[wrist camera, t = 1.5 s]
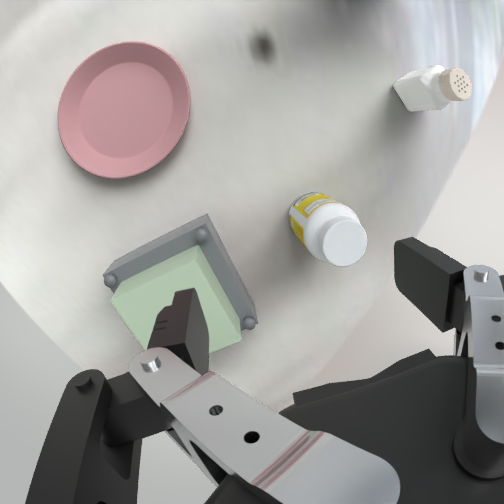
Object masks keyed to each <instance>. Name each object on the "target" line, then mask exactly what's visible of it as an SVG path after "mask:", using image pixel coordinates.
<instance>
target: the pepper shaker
mask: <svg viewBox="0 0 504 504" xmlns="http://www.w3.org/2000/svg"><path fill="white" fill-rule="evenodd" d="M393 86H394V89H395V90H396V92H397V94H398V95H399V97H400V98H401V100H402V102H403V103H404V105H405V107H406V109H407V110H409V111H410V112H411V111H425V110H440V109H442V108H444V107H445V106H447V105H448V104H449V103H451V102H452V101H461V100H466V99H469V97H470V95H471V94H472V85H471V81H470V78H469V77H468V75H467V74H466V73H465V71H463V70H461V69H459V68H455V69H450V70H445V69H444V68H443V67H442V66H440V65H435V66H431V67H427V68H423V69H419V70H415V71H412V72H409V73H408V74H406V75H405V76H403V77H402V78H400V79H399V80H397V81H396V82H395V83H394V85H393Z"/></svg>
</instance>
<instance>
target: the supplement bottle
mask: <svg viewBox="0 0 504 504" xmlns="http://www.w3.org/2000/svg"><path fill="white" fill-rule="evenodd" d="M289 224H290V227H291V229H292V231H293V232H294V234H295V235H296V236H297V237H298V238H299V240H300V241H301V242H302V243H303V244H304V246H305V247H306V248H307V250H308V251H309V252H310V253H311V254H312V255H313V256H314V257H316V258H317V259H319V260H321V261H325V262H330V263H331V264H333V265H335V266H340V267H345V266H349V265H352V264H354V263H355V262H357V261H358V260H359V259H360V258H361V257H362V255H363V254H364V252H365V250H366V247H367V234H366V231H365V229H364V228H363V226H362V225H360V221H359V219H358V217H357V215H356V214H355V213H354V212H353V211H352V210H351V209H350V208H349V207H347V206H345V205H344V204H342V203H340V202H338V201H336V200H334V199H332V198H330V197H328V196H326V195H324V194H321V193H317V192H310V193H306V194H303V195H301V196H300V197H298V198H297V199H296V200H295V201H294V203H293V204H292V206H291V208H290V211H289Z"/></svg>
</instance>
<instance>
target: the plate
mask: <svg viewBox="0 0 504 504" xmlns="http://www.w3.org/2000/svg"><path fill="white" fill-rule="evenodd" d="M189 112H190V90H189V85H188V81H187V78H186V76H185V74H184V72H183V70H182V68H181V67H180V65H179V64H178V63H177V61H176V60H175V59H174V58H173V57H172V56H171V55H170V54H168V53H167V52H166V51H164V50H163V49H161V48H159V47H157V46H154V45H152V44H148V43H144V42H121V43H116V44H113V45H110V46H107V47H105V48H103V49H100V50H99V51H97V52H95V53H94V54H92V55H91V56H89V57H88V58H87V59H86V60H84V61H83V62H82V63H81V64H80V65H79V66H78V67H77V69H76V70H75V71H74V72H73V74H72V75H71V77H70V78H69V80H68V82H67V83H66V85H65V87H64V90H63V92H62V95H61V98H60V102H59V108H58V129H59V134H60V138H61V141H62V143H63V146H64V148H65V150H66V151H67V153H68V154H69V156H70V157H71V158H72V159H73V161H74V162H75V163H76V164H77V165H79V166H80V167H81V168H83V169H84V170H86V171H87V172H89V173H91V174H94V175H96V176H100V177H104V178H112V179H119V178H127V177H132V176H135V175H138V174H141V173H143V172H145V171H147V170H149V169H151V168H153V167H154V166H156V165H157V164H158V163H160V162H161V161H162V160H163V159H164V158H165V157H166V156H167V155H168V154H169V153H170V152H171V151H172V150H173V148H174V147H175V146H176V144H177V143H178V141H179V140H180V138H181V136H182V134H183V132H184V130H185V127H186V124H187V121H188V117H189Z"/></svg>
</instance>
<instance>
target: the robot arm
mask: <svg viewBox="0 0 504 504" xmlns="http://www.w3.org/2000/svg"><path fill="white" fill-rule="evenodd" d="M394 277H395V283H396V286H397V288H398V289H399V291H400V292H401V293H402V294H403V295H405V297H407V298H408V299H409V300H410V301H411V302H412V303H413V304H414V305H415V306H416V307H417V308H418V309H419V310H420V311H421V312H422V313H423V314H424V315H425V316H426V317H427V318H428V319H429V320H430V321H431V322H432V323H433V324H435V326H437V327H438V329H440V330H441V331H442V332H446V331H448V330H450V329H452V328H456V330H455V336H454V354H453V356H438V357H436V356H435V355H434V354H433V353H432V352H431V351H430V349H427V350H425V351H422V352H419V353H417V354H414V355H412V356H409V357H407V358H404V359H401V360H399V361H398V362H396V363H394V364H393V365H391V366H390V367H388V368H387V369H385V370H383V371H382V372H380V373H378V374H377V375H375V376H373V377H371V378H369V379H363V380H355V381H346V382H337V383H329V384H325V385H322V386H318V387H314V388H311V389H307V390H303V391H299V392H295V393H293V398H294V403H295V404H293V405H291V406H289V407H287V408H286V409H284V410H282V411H280V412H279V413H276V412H275V411H273V410H271V409H270V408H268V407H267V406H265V405H263V404H262V403H260V402H258V401H257V400H255V399H254V398H252V397H251V396H249V395H247V394H246V393H244V392H243V391H241V390H240V389H238V388H237V387H235V386H234V385H232V384H231V383H229V382H228V381H226V380H225V379H223V378H222V377H220V376H219V375H217V374H216V373H214V372H212V371H208V367H209V331H208V327H207V323H206V320H205V316H204V313H203V310H202V307H201V304H200V301H199V298H198V294H197V292H196V289H195V288H189V289H185V290H180V291H176V292H175V294H174V298H173V301H172V305H170V306H165V307H164V308H163V309H162V310H161V311H160V312H159V313H158V314H157V317H156V320H155V324H154V327H153V331H152V333H151V337H150V340H149V343H148V347H147V350H145V351H142V352H141V353H139V354H137V355H136V356H135V357H134V358H133V359H132V360H131V362H130V364H129V372H127V373H125V374H123V375H120V376H117V377H114V378H111V379H108V380H107V379H106V378H105V376H104V374H103V373H102V372H101V371H99V370H96V369H91V370H86V371H83V372H81V373H79V374H77V375H75V376H74V377H73V378H72V379H71V380H70V381H69V382H68V384H67V386H66V388H65V390H64V393H63V395H62V398H61V400H60V403H59V405H58V407H57V410H56V413H55V415H54V417H53V420H52V423H51V425H50V428H49V431H48V433H47V436H46V439H45V442H44V445H43V447H42V451H41V453H40V456H39V459H38V463H37V465H36V469H35V472H34V475H33V478H32V482H31V485H30V488H29V492H28V495H27V499H26V503H25V504H137V492H138V478H139V466H140V456H141V445H142V438H145V437H148V436H151V435H154V434H157V433H159V432H162V431H165V432H166V433H167V434H168V435H169V437H170V438H171V439H172V440H173V441H174V442H175V443H176V444H177V445H178V446H179V447H180V449H181V450H182V451H183V452H184V453H185V454H186V455H187V456H188V457H189V458H190V459H191V460H192V461H193V462H194V463H195V464H196V465H197V466H198V467H199V468H200V469H201V471H202V472H203V473H204V474H205V475H206V476H207V477H208V479H209V480H210V481H211V482H212V483H213V484H214V485H215V486H216V487H217V489H216V490H215V491H214V492H213V493H212V495H211V496H210V498H208V500H207V501H206V502H205V503H204V504H504V275H501V276H499V275H498V272H497V271H496V270H494V269H493V268H491V267H488V266H483V265H473V266H469V267H466V266H464V265H462V264H461V263H459V262H458V261H456V260H454V259H453V258H450V257H449V256H448V255H446V254H444V253H443V252H441V251H440V250H438V249H436V248H433V247H429V246H427V245H426V244H424V243H422V242H421V241H419V240H417V239H415V238H414V237H410V238H406V239H402V240H398V241H396V242H395V244H394Z"/></svg>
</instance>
